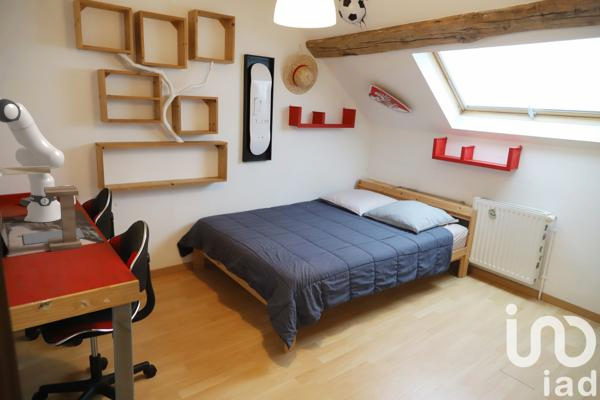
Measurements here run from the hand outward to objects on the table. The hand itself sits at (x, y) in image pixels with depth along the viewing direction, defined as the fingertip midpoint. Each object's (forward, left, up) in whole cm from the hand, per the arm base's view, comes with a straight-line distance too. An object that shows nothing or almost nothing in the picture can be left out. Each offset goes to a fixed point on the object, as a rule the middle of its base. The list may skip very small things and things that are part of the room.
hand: (5, 170), depth 178 cm
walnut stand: (+14, +19, -33) cm, 41 cm away
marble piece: (-69, +13, -34) cm, 78 cm away
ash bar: (0, +7, -2) cm, 7 cm away
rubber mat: (-1, +16, -33) cm, 37 cm away
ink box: (-61, +29, -33) cm, 75 cm away
